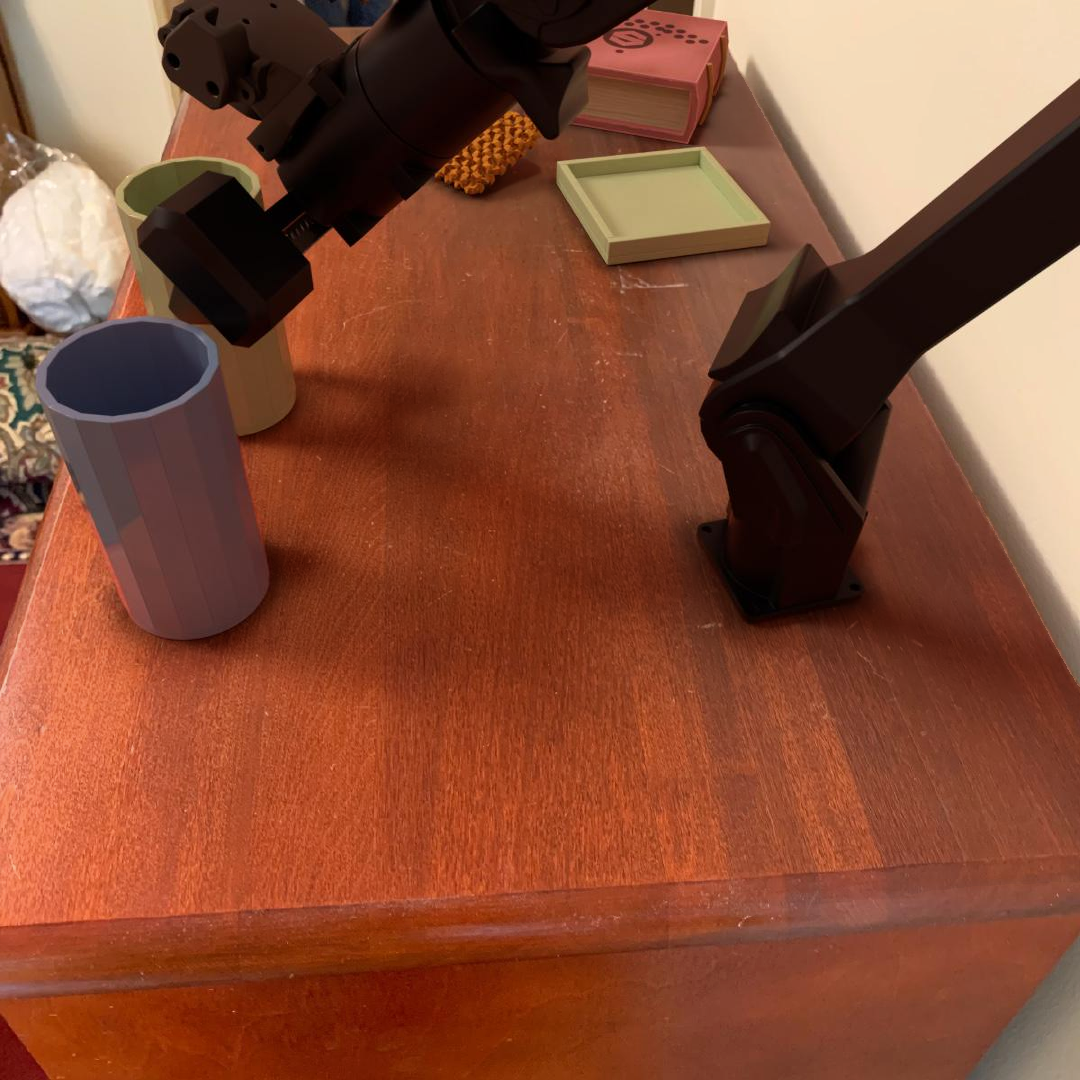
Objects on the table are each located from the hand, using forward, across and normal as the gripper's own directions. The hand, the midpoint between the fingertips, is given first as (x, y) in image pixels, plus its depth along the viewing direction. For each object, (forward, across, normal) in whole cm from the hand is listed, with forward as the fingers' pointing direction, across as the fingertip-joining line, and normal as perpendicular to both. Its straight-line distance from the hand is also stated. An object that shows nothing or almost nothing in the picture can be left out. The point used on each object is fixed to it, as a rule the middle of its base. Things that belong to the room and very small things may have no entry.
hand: (232, 268), depth 52 cm
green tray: (-4, -32, +16) cm, 36 cm away
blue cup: (+3, +13, +10) cm, 16 cm away
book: (+3, -50, +10) cm, 52 cm away
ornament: (+8, -34, +5) cm, 35 cm away
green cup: (+8, 0, +5) cm, 9 cm away
